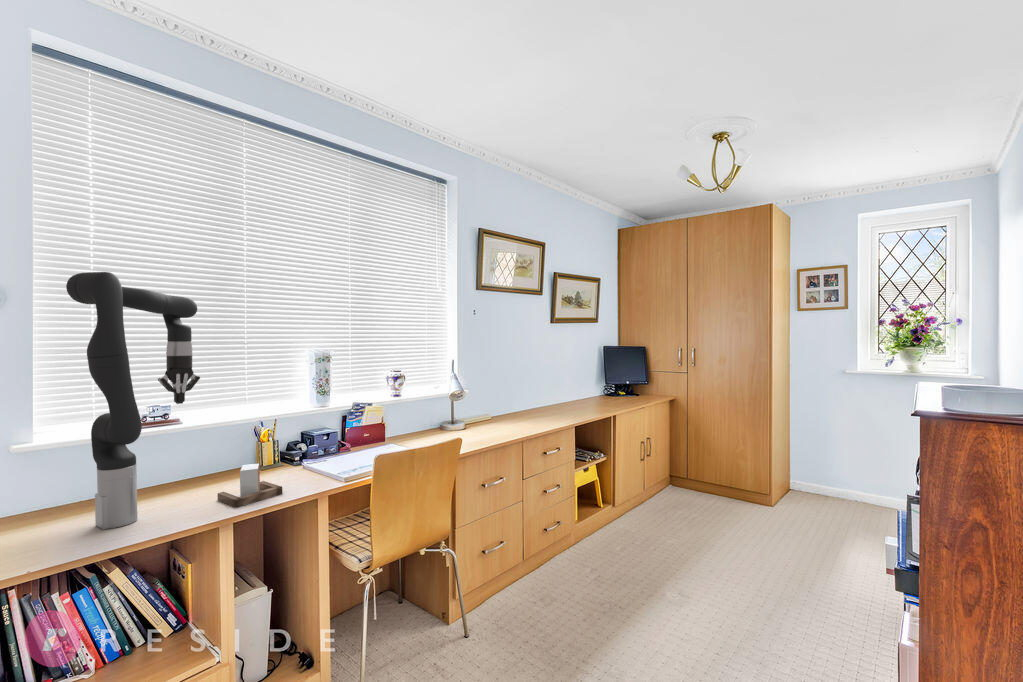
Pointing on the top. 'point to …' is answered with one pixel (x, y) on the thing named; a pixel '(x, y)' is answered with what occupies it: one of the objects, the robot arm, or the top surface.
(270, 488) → the walnut bay
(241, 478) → the small box
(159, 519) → the top surface
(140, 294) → the robot arm
